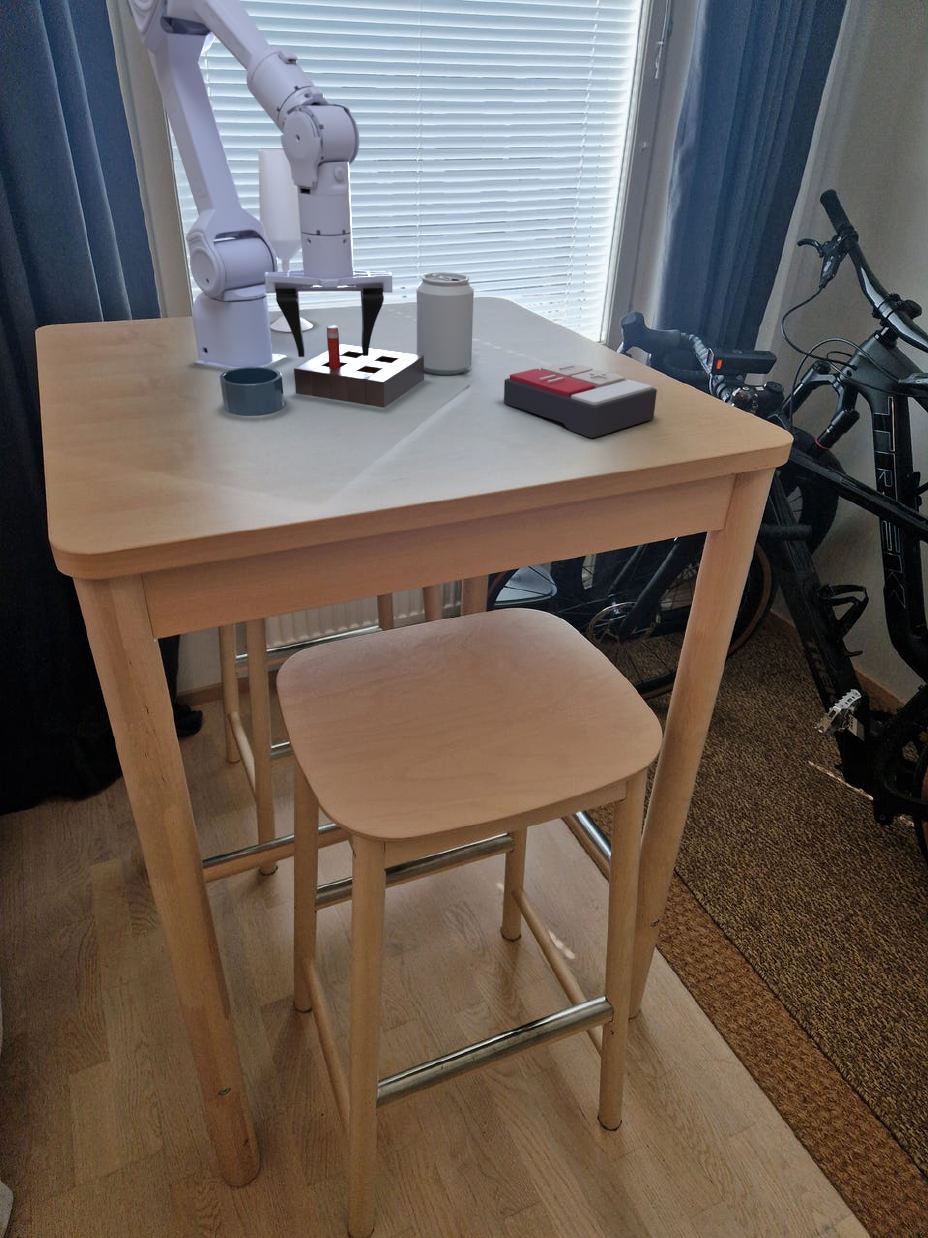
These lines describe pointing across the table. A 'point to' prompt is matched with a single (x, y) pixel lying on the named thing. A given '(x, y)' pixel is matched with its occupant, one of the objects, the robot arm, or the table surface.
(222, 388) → the cup
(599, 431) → the calculator
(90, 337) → the table surface
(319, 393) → the pencil stand
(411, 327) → the table surface
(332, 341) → the pencil
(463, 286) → the can
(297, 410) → the table surface
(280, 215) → the champagne flute
